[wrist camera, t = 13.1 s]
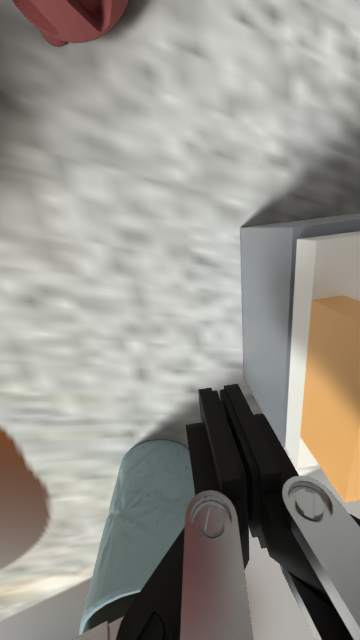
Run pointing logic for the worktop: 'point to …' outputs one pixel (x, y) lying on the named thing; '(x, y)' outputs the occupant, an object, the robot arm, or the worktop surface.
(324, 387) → the lid
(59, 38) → the mechanical component
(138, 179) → the worktop surface
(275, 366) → the housing
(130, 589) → the blue-grey cup
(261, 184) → the worktop surface
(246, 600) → the robot arm
